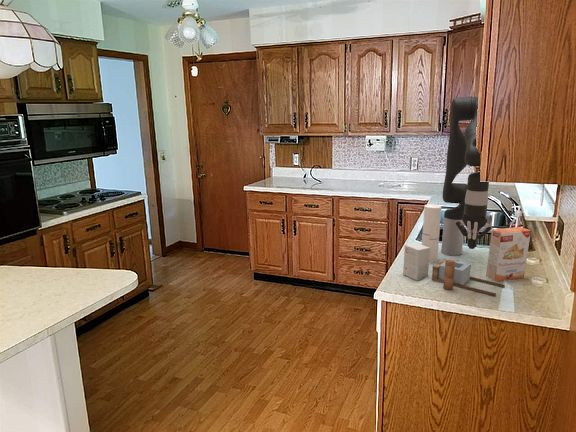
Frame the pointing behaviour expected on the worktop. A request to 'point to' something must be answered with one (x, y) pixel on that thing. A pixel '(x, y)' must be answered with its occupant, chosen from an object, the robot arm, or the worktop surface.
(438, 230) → the cylindrical container
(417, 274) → the small box
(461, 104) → the robot arm
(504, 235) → the cracker box
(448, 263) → the dowel
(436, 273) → the track
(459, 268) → the grey square collar
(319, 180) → the worktop surface
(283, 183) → the worktop surface
